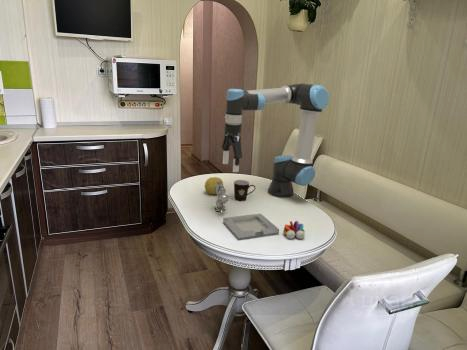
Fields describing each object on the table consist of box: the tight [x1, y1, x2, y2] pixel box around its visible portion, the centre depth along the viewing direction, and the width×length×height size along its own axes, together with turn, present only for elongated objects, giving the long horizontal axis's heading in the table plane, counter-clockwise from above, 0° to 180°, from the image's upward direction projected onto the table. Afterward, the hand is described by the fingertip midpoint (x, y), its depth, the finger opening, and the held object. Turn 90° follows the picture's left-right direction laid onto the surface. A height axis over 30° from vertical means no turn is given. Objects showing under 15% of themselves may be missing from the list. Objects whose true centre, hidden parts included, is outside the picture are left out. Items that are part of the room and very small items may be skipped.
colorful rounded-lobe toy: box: [282, 220, 305, 240], centre depth 158 cm, size 8×10×7 cm
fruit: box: [204, 176, 224, 196], centre depth 202 cm, size 10×11×10 cm
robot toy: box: [215, 182, 229, 213], centre depth 177 cm, size 15×6×15 cm, turn 13°
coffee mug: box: [233, 179, 256, 202], centre depth 196 cm, size 12×9×10 cm
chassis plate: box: [222, 213, 280, 241], centre depth 162 cm, size 20×18×2 cm
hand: (230, 167), depth 168 cm, fingers open, 13 cm apart
